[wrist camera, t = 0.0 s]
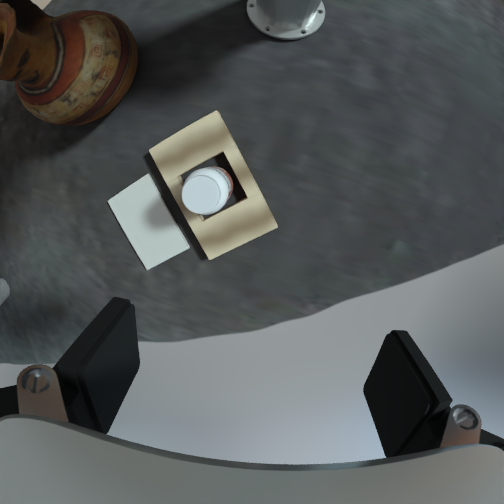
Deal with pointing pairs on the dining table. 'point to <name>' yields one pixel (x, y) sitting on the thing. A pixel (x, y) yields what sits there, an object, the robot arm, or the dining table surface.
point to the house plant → (3, 290)
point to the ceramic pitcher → (66, 61)
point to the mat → (148, 222)
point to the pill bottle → (207, 190)
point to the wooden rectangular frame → (254, 205)
